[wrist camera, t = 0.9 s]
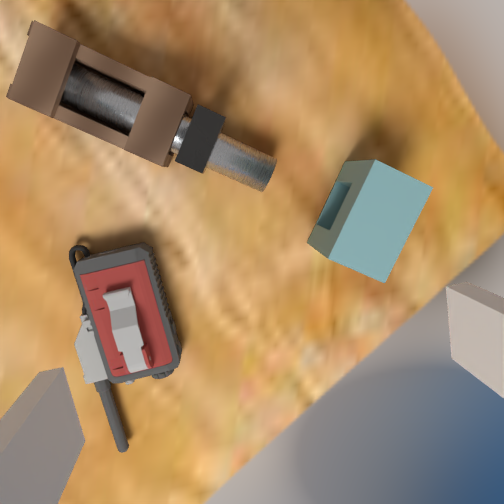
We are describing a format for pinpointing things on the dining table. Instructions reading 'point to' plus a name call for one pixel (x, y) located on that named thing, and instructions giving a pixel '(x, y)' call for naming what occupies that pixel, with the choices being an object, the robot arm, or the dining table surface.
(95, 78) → the rod
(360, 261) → the socket
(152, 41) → the dining table surface
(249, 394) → the dining table surface
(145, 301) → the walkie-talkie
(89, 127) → the sleeve
